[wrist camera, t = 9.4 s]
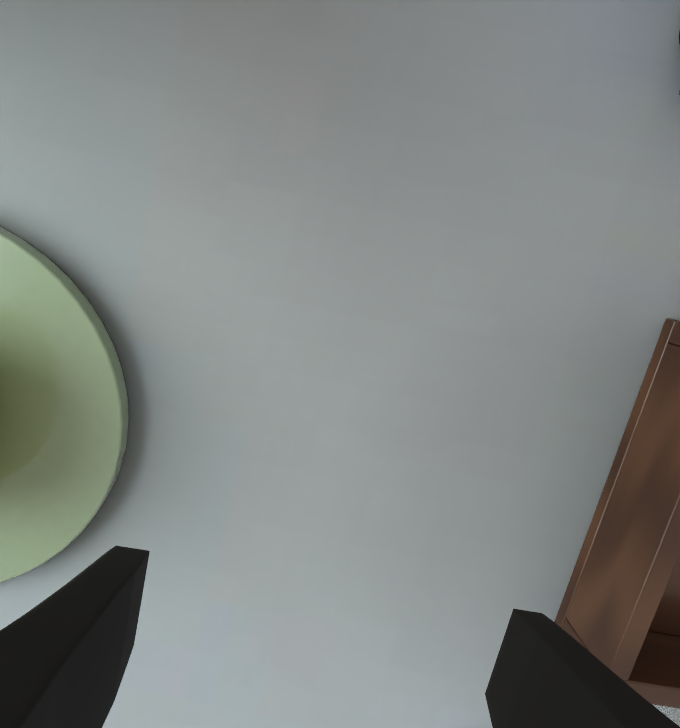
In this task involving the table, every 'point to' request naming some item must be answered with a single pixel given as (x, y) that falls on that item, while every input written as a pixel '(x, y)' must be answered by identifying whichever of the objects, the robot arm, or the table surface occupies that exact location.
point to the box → (637, 544)
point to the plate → (52, 409)
